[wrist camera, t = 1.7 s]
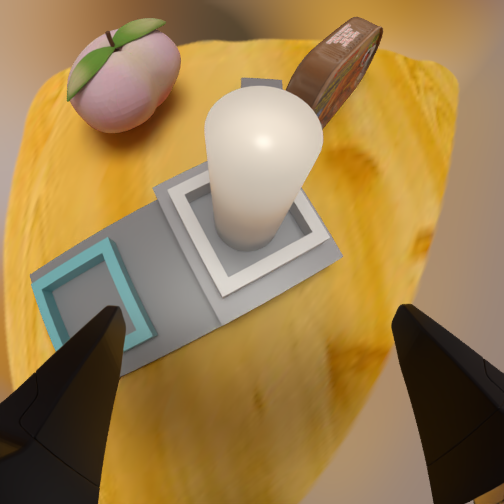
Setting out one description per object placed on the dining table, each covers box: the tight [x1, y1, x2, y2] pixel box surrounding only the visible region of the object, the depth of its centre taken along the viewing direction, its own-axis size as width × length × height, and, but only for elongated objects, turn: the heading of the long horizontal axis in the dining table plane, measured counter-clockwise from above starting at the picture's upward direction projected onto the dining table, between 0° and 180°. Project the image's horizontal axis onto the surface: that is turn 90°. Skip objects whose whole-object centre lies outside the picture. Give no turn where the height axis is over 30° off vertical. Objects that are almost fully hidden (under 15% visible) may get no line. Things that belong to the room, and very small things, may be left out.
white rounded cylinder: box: [205, 78, 323, 252], centre depth 15 cm, size 5×4×10 cm
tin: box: [286, 17, 383, 129], centre depth 22 cm, size 15×3×8 cm, turn 144°
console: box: [30, 161, 343, 377], centre depth 19 cm, size 21×10×4 cm, turn 119°
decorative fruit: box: [67, 18, 181, 133], centre depth 19 cm, size 9×8×10 cm
